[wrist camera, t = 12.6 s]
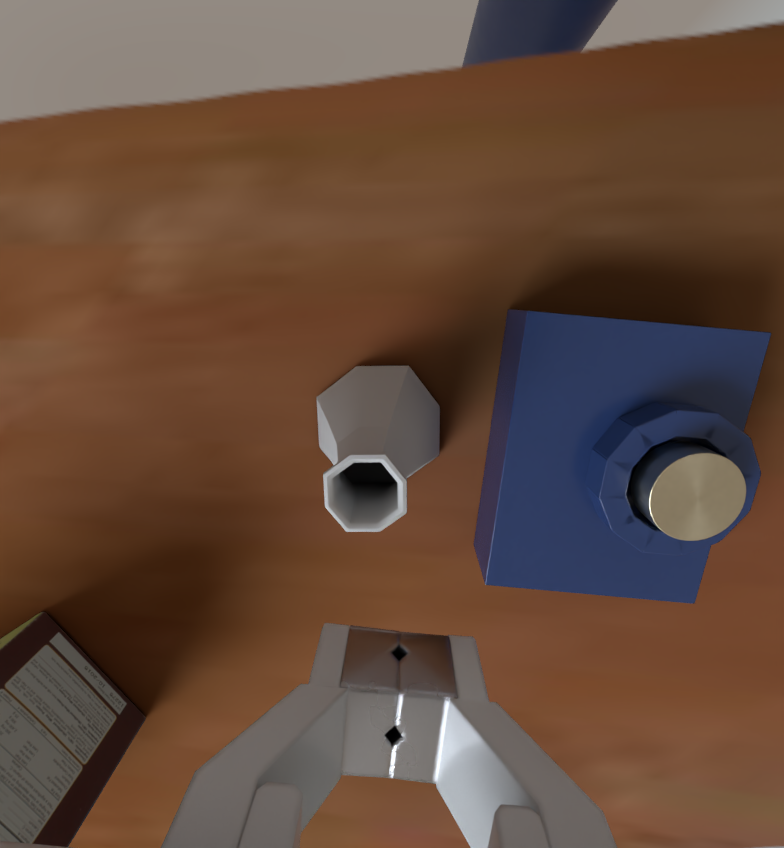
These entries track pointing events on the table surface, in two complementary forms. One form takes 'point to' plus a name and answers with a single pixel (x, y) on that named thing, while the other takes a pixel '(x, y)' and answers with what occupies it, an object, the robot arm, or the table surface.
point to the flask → (375, 443)
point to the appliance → (606, 449)
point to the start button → (688, 490)
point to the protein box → (55, 733)
